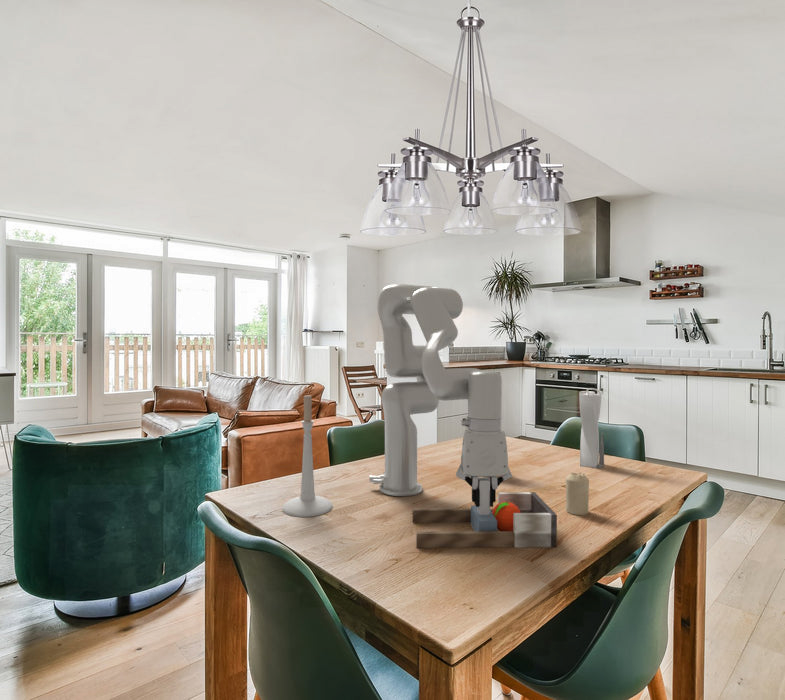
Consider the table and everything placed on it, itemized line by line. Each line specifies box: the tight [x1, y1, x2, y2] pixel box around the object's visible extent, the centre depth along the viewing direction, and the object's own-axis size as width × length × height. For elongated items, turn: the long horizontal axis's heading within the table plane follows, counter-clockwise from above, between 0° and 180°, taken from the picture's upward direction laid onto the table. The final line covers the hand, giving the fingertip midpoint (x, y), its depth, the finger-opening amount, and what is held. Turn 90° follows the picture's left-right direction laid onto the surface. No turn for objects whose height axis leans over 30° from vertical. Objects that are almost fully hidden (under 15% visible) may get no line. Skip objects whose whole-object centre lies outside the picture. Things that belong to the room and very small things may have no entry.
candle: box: [565, 472, 590, 516], centre depth 127 cm, size 6×6×10 cm
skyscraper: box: [578, 387, 605, 470], centre depth 173 cm, size 8×8×28 cm
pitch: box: [411, 491, 558, 549], centre depth 113 cm, size 30×15×7 cm, turn 91°
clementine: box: [492, 502, 521, 531], centre depth 113 cm, size 8×7×7 cm
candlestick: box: [282, 394, 333, 518], centre depth 129 cm, size 13×13×30 cm
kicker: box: [470, 477, 498, 531], centre depth 113 cm, size 4×10×12 cm, turn 1°
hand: (483, 504), depth 113 cm, fingers closed on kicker, 2 cm apart
